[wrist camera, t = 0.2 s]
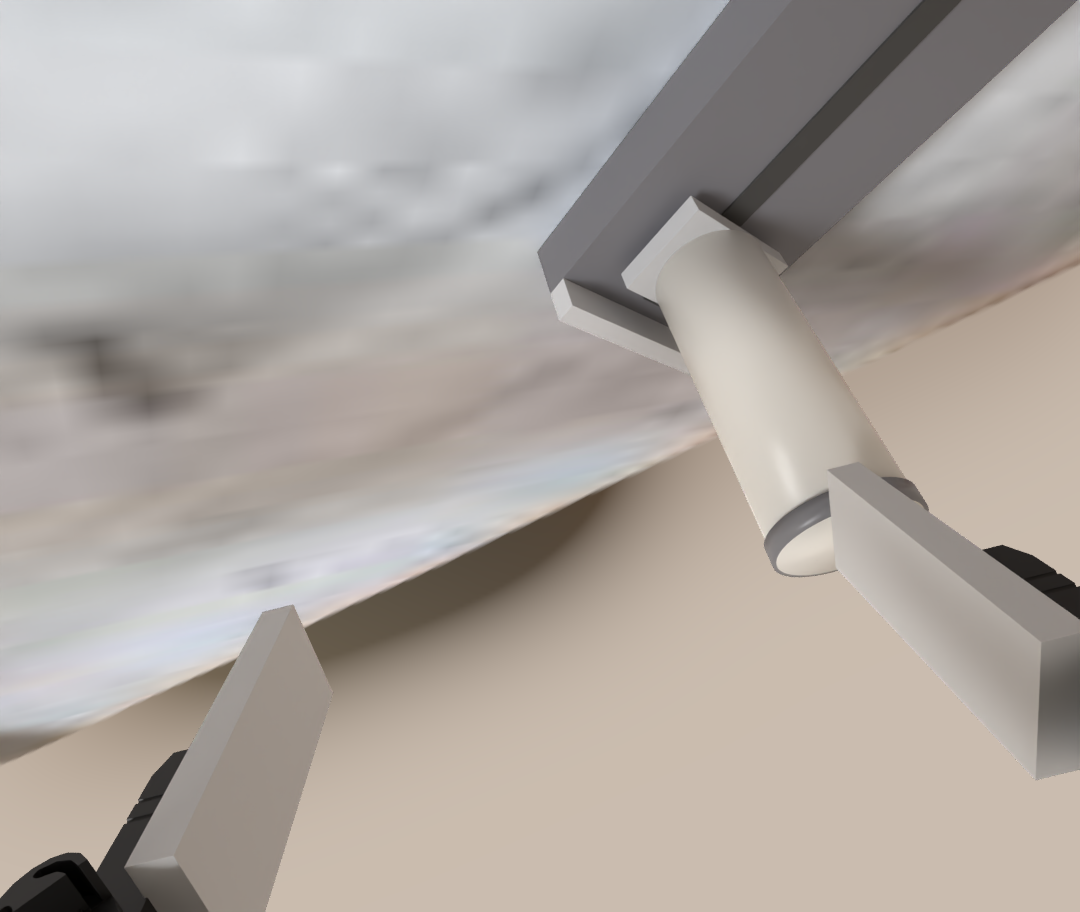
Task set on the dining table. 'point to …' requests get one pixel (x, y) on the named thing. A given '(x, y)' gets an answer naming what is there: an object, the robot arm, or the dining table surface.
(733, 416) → the fader knob
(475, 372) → the dining table surface
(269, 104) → the dining table surface
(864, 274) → the dining table surface
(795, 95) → the fader console
